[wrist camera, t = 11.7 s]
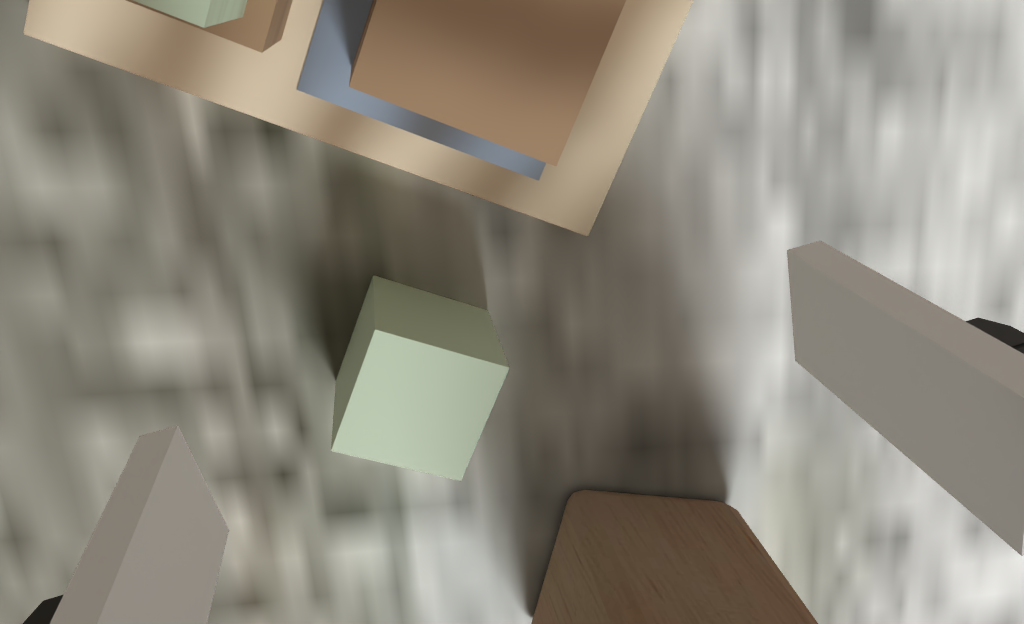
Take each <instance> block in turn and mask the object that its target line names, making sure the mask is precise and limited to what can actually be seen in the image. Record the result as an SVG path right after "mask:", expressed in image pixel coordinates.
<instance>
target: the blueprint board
mask: <svg viewBox="0 0 1024 624" xmlns="http://www.w3.org/2000/svg"><path fill="white" fill-rule="evenodd" d="M693 1H694V0H626V2H625V4H624V7H623V9H622V12H621V14H620V16H619V19H618V21H617V23H616V26H615V28H614V31H613V33H612V35H611V38H610V40H609V42H608V45H607V47H606V50H605V52H604V54H603V57H602V59H601V61H600V64H599V66H598V69H597V71H596V73H595V76H594V78H593V81H592V83H591V85H590V88H589V90H588V92H587V95H586V97H585V100H584V102H583V104H582V107H581V109H580V111H579V114H578V116H577V119H576V121H575V123H574V126H573V128H572V130H571V133H570V135H569V138H568V140H567V142H566V145H565V147H564V150H563V152H562V154H561V157H560V159H559V161H558V164H557V166H553V165H551V164H548V163H545V162H543V161H540V160H538V159H535V158H532V157H530V156H527V155H525V154H522V153H519V152H517V151H514V150H512V149H509V148H506V147H504V146H501V145H499V144H496V143H493V142H491V141H488V140H486V139H483V138H480V137H478V136H475V135H473V134H470V133H467V132H465V131H462V130H460V129H457V128H454V127H452V126H449V125H447V124H444V123H441V122H439V121H436V120H434V119H431V118H428V117H426V116H423V115H421V114H418V113H415V112H413V111H410V110H408V109H405V108H402V107H400V106H397V105H395V104H392V103H389V102H387V101H384V100H382V99H379V98H376V97H374V96H371V95H369V94H366V93H363V92H361V91H358V90H356V89H353V88H350V87H349V82H350V75H351V67H352V64H353V61H354V58H355V55H356V52H357V48H358V45H359V42H360V39H361V36H362V33H363V30H364V27H365V24H366V20H367V17H368V14H369V11H370V8H371V5H372V2H373V0H293V1H292V5H291V8H290V12H289V15H288V19H287V22H286V26H285V29H284V32H283V36H282V39H281V40H280V41H279V42H277V43H276V44H274V45H273V46H271V47H270V48H268V49H267V50H265V51H264V52H263V53H261V52H258V51H256V50H253V49H251V48H248V47H245V46H243V45H240V44H238V43H235V42H233V41H230V40H227V39H225V38H222V37H220V36H217V35H214V34H212V33H209V32H207V31H204V30H201V29H199V28H196V27H194V26H191V25H188V24H186V23H183V22H181V21H178V20H175V19H173V18H170V17H168V16H165V15H162V14H160V13H157V12H155V11H152V10H149V9H147V8H144V7H142V6H139V5H136V4H134V3H131V2H129V1H126V0H30V1H29V7H28V12H27V17H26V23H25V28H24V33H23V34H25V35H28V36H31V37H34V38H37V39H39V40H42V41H45V42H48V43H50V44H53V45H56V46H59V47H62V48H64V49H67V50H70V51H73V52H75V53H78V54H81V55H84V56H87V57H89V58H92V59H95V60H98V61H101V62H103V63H106V64H109V65H112V66H114V67H117V68H120V69H123V70H126V71H128V72H131V73H134V74H137V75H139V76H142V77H145V78H148V79H151V80H153V81H156V82H159V83H162V84H165V85H167V86H170V87H173V88H176V89H178V90H181V91H184V92H187V93H190V94H192V95H195V96H198V97H201V98H203V99H206V100H209V101H212V102H215V103H217V104H220V105H223V106H226V107H229V108H231V109H234V110H237V111H240V112H242V113H245V114H248V115H251V116H254V117H256V118H259V119H262V120H265V121H268V122H270V123H273V124H276V125H279V126H281V127H284V128H287V129H290V130H293V131H295V132H298V133H301V134H304V135H306V136H309V137H312V138H315V139H318V140H320V141H323V142H326V143H329V144H332V145H334V146H337V147H340V148H343V149H345V150H348V151H351V152H354V153H357V154H359V155H362V156H365V157H368V158H370V159H373V160H376V161H379V162H382V163H384V164H387V165H390V166H393V167H396V168H398V169H401V170H404V171H407V172H409V173H412V174H415V175H418V176H421V177H423V178H426V179H429V180H432V181H434V182H437V183H440V184H443V185H446V186H448V187H451V188H454V189H457V190H460V191H462V192H465V193H468V194H471V195H473V196H476V197H479V198H482V199H485V200H487V201H490V202H493V203H496V204H498V205H501V206H504V207H507V208H510V209H512V210H515V211H518V212H521V213H524V214H526V215H529V216H532V217H535V218H537V219H540V220H543V221H546V222H549V223H551V224H554V225H557V226H560V227H562V228H565V229H568V230H571V231H574V232H576V233H579V234H582V235H585V236H588V235H589V233H590V231H591V229H592V227H593V224H594V222H595V220H596V218H597V215H598V213H599V211H600V209H601V206H602V204H603V202H604V200H605V197H606V195H607V193H608V191H609V189H610V186H611V184H612V182H613V180H614V177H615V175H616V173H617V171H618V168H619V166H620V164H621V162H622V159H623V157H624V155H625V153H626V150H627V148H628V146H629V144H630V142H631V139H632V137H633V135H634V133H635V130H636V128H637V126H638V124H639V121H640V119H641V117H642V115H643V112H644V110H645V108H646V106H647V104H648V101H649V99H650V97H651V95H652V92H653V90H654V88H655V86H656V83H657V81H658V79H659V77H660V74H661V72H662V70H663V68H664V65H665V63H666V61H667V59H668V57H669V54H670V52H671V50H672V48H673V45H674V43H675V41H676V39H677V36H678V34H679V32H680V30H681V27H682V25H683V23H684V21H685V19H686V16H687V14H688V12H689V10H690V7H691V5H692V3H693Z"/></svg>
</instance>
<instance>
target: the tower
mask: <svg viewBox="0 0 1024 624" xmlns="http://www.w3.org/2000/svg"><path fill="white" fill-rule="evenodd" d="M126 1H129V2H131V3H134V4H136V5H139V6H142V7H144V8H147V9H149V10H152V11H155V12H157V13H160V14H162V15H165V16H168V17H170V18H173V19H175V20H178V21H181V22H183V23H186V24H188V25H191V26H194V27H196V28H199V29H201V30H204V31H207V32H209V33H212V34H214V35H217V36H220V37H222V38H225V39H227V40H230V41H233V42H235V43H238V44H240V45H243V46H245V47H248V48H251V49H253V50H256V51H258V52H261V53H263V52H264V51H265V50H267V49H268V48H270V47H271V46H273V45H274V44H276V43H277V42H279V41H280V40H281V39H282V36H283V32H284V29H285V26H286V22H287V19H288V15H289V12H290V8H291V5H292V1H293V0H126Z"/></svg>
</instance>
